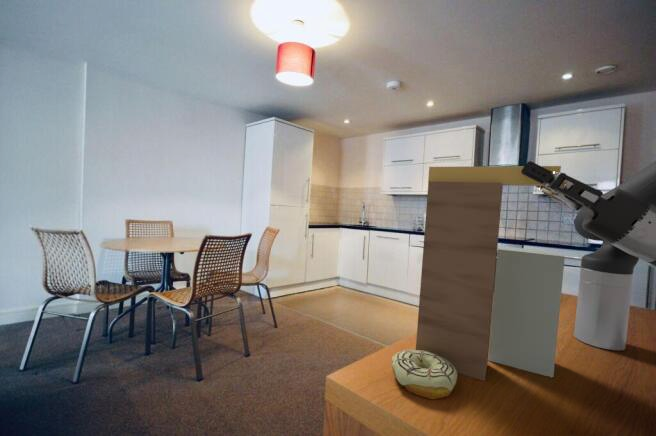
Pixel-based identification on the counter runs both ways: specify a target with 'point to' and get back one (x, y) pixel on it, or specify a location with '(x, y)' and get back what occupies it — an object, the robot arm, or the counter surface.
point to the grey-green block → (526, 309)
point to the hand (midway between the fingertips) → (523, 169)
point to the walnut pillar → (459, 273)
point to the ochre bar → (486, 175)
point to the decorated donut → (424, 373)
